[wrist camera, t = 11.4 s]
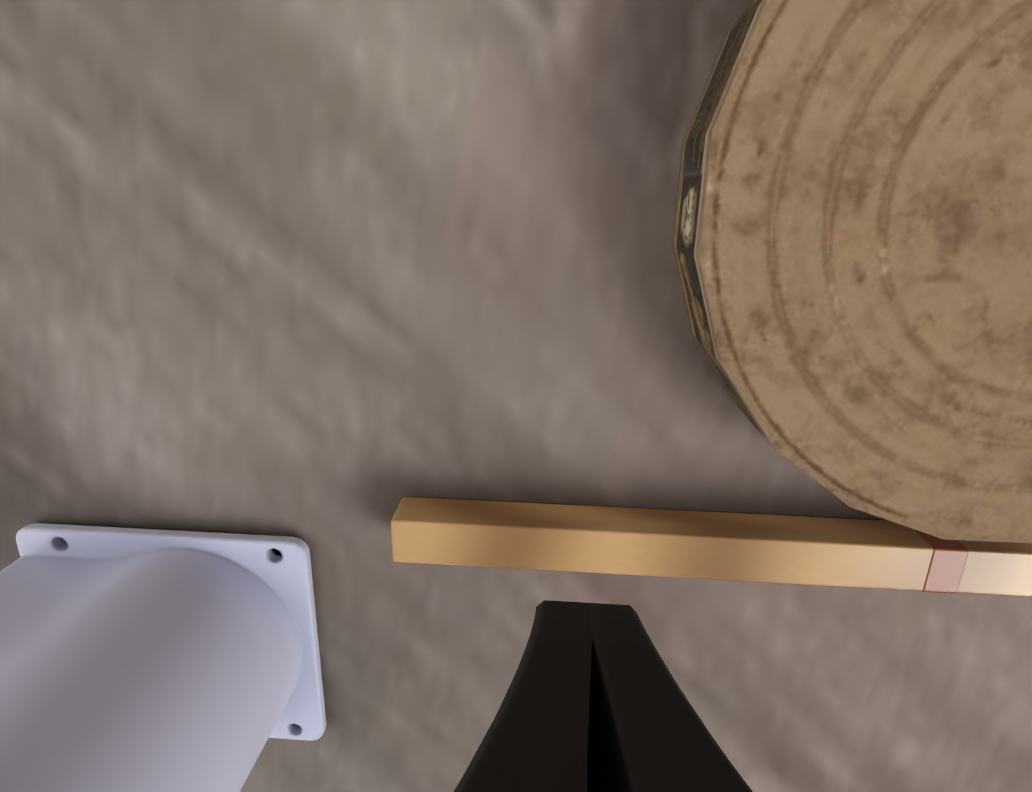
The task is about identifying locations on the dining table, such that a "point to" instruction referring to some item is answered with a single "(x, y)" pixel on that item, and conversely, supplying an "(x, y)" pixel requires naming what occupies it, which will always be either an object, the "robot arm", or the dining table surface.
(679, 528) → the rail
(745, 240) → the tin can
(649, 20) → the dining table surface
